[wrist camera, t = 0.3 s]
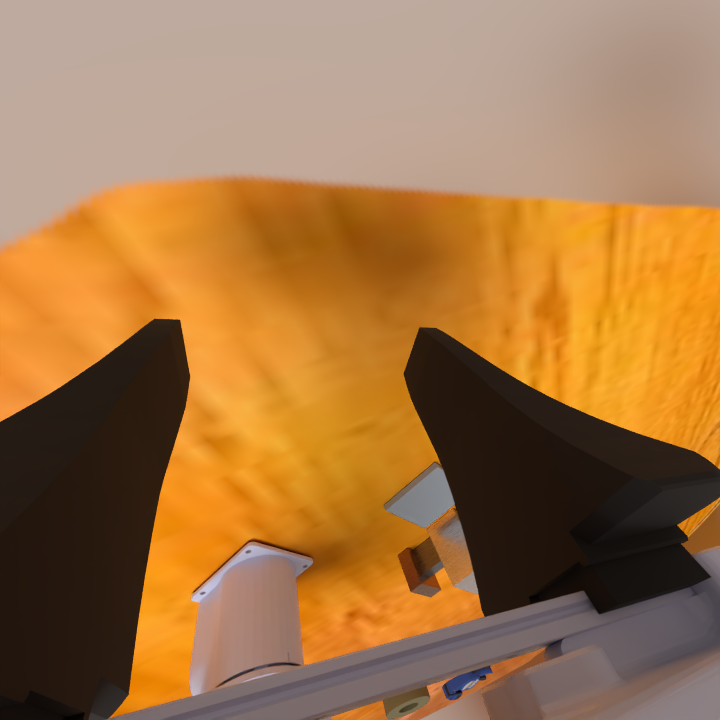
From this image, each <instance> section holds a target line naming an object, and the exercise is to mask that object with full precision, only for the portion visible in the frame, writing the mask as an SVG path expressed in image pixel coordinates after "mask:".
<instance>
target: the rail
mask: <svg viewBox="0 0 720 720" xmlns="http://www.w3.org/2000/svg"><path fill="white" fill-rule="evenodd" d="M398 558H399V560H400V563H401V566H402V569H403V572H404V574H405V577H406V580H407V583H408V586H409V588H410V591H411V592H413V593H417V594H420V595H424V596H428V597H432V596H433V595H435V594H436V593H437V592H439V591H440V590H441V588H440V586H439V584H438V581H437V579H436V577H435V573H437V572H438V571H439V570H441V569H442V568H443V567H444V566H443V564H442V561H441V559H440V557H439V555H438V553H437V551H436V548H435V546H434V544H433V542H432V540H431V538H430V537H429V538H428V539H427V540H426V541H424V542H423V543H422V544H421V545H419V546H418V547H417V548H415V549H414V550H411V549H409V548H407V549H406V550H404V551H403V552H402V553H400V554H399V555H398Z"/></svg>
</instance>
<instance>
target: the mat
mask: <svg viewBox="0 0 720 720" xmlns="http://www.w3.org/2000/svg"><path fill="white" fill-rule="evenodd" d="M454 505H455V503H454V500H453V497H452V494H451V491H450V488H449V485H448V482H447V479H446V476H445V473H444V471H443V468H442V467H441V466H440V465H438V464H437V463H435V462H434V463H433V464H432V465H431V466H430V467H429V468H427V469H426V470H425V471H424V472H423V473H421V474H420V475H419V476H418V477H417V478H416V479H414V480H413V481H412V482H411V483H410V484H408V485H407V486H406V487H405V488H404V489H403V490H401V491H400V492H399V493H398V494H397V495H396V496H394V497H393V498H392V499H391V500H390V501H388V502H387V503H386V504H385V505H384V507H385V510H386V511H388V512H390V513H392V514H395V515H397V516H399V517H401V518H403V519H405V520H408V521H410V522H412V523H414V524H416V525H418V526H421V527H423V528H426V527H427V526H429V525H430V524H431V523H432V522H434V521H435V520H436V519H437V518H439V517H440V516H441V515H442V514H444V513H445V512H446V511H447V510H449V509H450V508H451V507H452V506H454Z"/></svg>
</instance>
